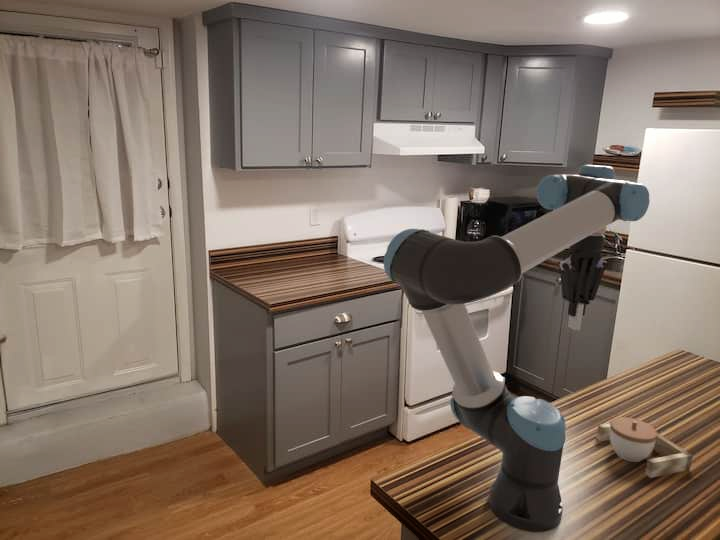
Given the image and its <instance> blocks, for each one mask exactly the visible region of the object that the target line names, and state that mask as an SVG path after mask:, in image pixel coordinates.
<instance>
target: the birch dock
mask: <svg viewBox="0 0 720 540" xmlns="http://www.w3.org/2000/svg"><path fill="white" fill-rule="evenodd" d="M610 424H611V422H609V423H603V424H602V423H601V424H598V425H597V432H596V436H595V437H596V440H598V441H599V442H605V441H610ZM653 451H655V452H656V453H657V454H660V455H661V456H660V457H654V458H649V459H647V464H646V468H645V473H644V475H646V476H647V477H648V478H650V479H651V478H655V477H661V476H667V475H671V474H676V473H681V472H684V471H690V469H691V465H692V461H693V454H692V453H690V452H688V450H685V449H684V448H682V447H681V446H679V445H677V444H675V443H674V442H673V441H671V440H669V439H668V438H666V436H665V437H664V435H661V434H660V433H658V435H657V439H656V442H655V446H654V449H653Z"/></svg>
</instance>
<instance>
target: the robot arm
mask: <svg viewBox="0 0 720 540" xmlns="http://www.w3.org/2000/svg"><path fill="white" fill-rule="evenodd" d="M578 170H579V171H578V173H577V174H560V173H556V174H549V175H546V176H544V177H543V178H541V180H540V181H539V183H538V185H537V190H536V199H537V201H538V203H539V205H541V207H543V209H546V210H550V211H549V212H548V213H545V214H544V215H542V216H540V217H537V218H536V219H534V220H532V221H530V222H527V223H526V224H524V225H522V226H520V227H519V228H516V229H514V230H512V231H510V232H508V233H507V234H504V235H502V236H499V235H490V236H487V237H486V238H484V239H482V240H477V241H464V240H458V239H456V238H455V239H454V238H450V237H447V236H444V235H440V234H437V233H433V232H430V231H429V230H428V229H418V228H407V229H405V230H403V231H400V232H399V233H398V234H396V235H395V236H394V237H393V238H392V240H391V241H390V242H389V244H388V245H387V248H386V252H385V253H384V256H383V268H384V272H385V275H386V276H387V277H388V279H390V280H391V281H392V283H394V284H396V285H400V287H401V288H402V291H403V292H404V295H405V298H406V299H407V301H408V303H409V306H410V307H411V308H412V309H414V310H416V311H419V312H421V313H422V315H423V317H424V320H425V322H426V325H428V328H429V331H430V333H431V334H432V337H433V339H434V341H435V344H436V346H437V349H438V350H439V352H440V354H441V357H442V359H443V361H444V363H445V365H446V367H447V370H448V372H449V375H450V376H451V379H452V380H453V383H454V384H453V387H452V392H451V393H450V394H451V396H452V398H450V401H449V405H450V409H451V412H452V414H453V416H454V417H455V419H456V420H457V421H458V422H459V423H460V424H461V425H462V426H464V427H465V428H467V429H469V430H471V431H472V432H473V433H475V434H476V435H478V436H479V437H480V438H482V439H483V440H484V441H486V442H488V443H489V444H491V445H492V446H494V447H495V448H496V449H498V450H499V451H500V452H501V453H502V454H501V455H502V456H501V464H500V465H501V466H500V470H499V471H498V473H497V476H496V479H495V481H494V482H493V483H492V485H491V486H490V488H489V489H490V490H489V494H488V495H489V496H488V504H489V505H488V506H489V508H490V510H491V512H492V513H493V514H494V515H495V516H496V517H497V518H498V519H500V520H501V521H502V522H504V523H506V524H507V525H510V526H511V527H514V528H516V529H519V530H523V531H528V532H546V531H550V530H552V529H554V528H557V527H558V525H560V522H561V521H562V516H563V509H564V506H563V502H562V496H561V492H560V487H559V478H560V477H559V475H560V470H561V464H562V457H563V450H564V445H565V443H566V425H567V424H566V420H565V417H564V415H563V414H562V412H561V411H560V410H559V409H558V408H557V407H556V406H555V405H553V404H552V403H550V402H548V401H546V400H545V399H542V398H538V399H537V398H535V396H529V395H521V396H515V395H514V394H511V393H510V391H508V388H507V386H506V384H505V381H504V378H503V376H502V375H501V374H500V372H498V371H497V370H495V369H492V368H491V365H490V363H489V361H488V358H487V355H486V353H485V350H484V347H483V345H482V344H481V339H480V338H479V335H478V333H477V330H476V329H475V326H474V324H473V321H472V318H471V316H470V314H469V312H468V309H467V306H466V304H468V303H469V304H470V303H475V302H477V301H482V300H484V299H486V298H490V297H492V296H495V295H497V294H500V293H501V292H504V291H506V290H508V289H509V288H511V287H512V286H514V285H516V284H517V283H519V282H520V280H521V279H522V276H523V274H524V273H525V272H527V271H529V270H531V269H532V268H534V267H536V266H538V265H539V264H541V263H543V262H544V261H547V260H549V259H550V258H552V257H554V256H556V255H558V254H559V253H561V252H563V251H564V250H566V249H568V248H569V252H568V254H567V257H566V258H565V260H563V261H560V260H559V261H558V262H557V267H558V269H559V271H560V273H559V275H560V282H561V283H560V284H561V286H560V287H561V298H562V299H563V300H565V301H566V302H568V309H567V315H568V316H569V317H568V324H567V327H568V328H569V329H571V330H573V331H581V327H582V326H581V325H582V322H583V321H582V319H583V316H585V313H586V307H587V306H588V305H590V303H591V302H592V301H594V300H595V298H596V296H597V293H598V290H599V288H600V284H601V281H602V279H603V277H604V274H605V271H606V270H607V268H608V267H609V266H610V263H609V262H608V261H606V260H603V259H602V253H601V252H602V251H603V250H604V246H605V240H606V236H605V235H604V234H605V233H606V232H607V226H609V225H611V224H612V223H614V222H616V221H620V220H621V221H623V222H627V221H628V222H637V221H639V220H641V219H642V218H643V217H644V216H645V215H646V213H647V211H648V210H649V205H650V192H649V189H648V188H647V187H646V186H645V185H644V184H643V183H639V182H633V181H630V180H618V179H615V169H614V168H613V167H612V166H609V165H600V164H582V165H581V166H580V167H579V169H578ZM551 210H552V211H551ZM590 301H591V302H590Z"/></svg>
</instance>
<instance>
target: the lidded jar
mask: <svg viewBox="0 0 720 540" xmlns="http://www.w3.org/2000/svg"><path fill="white" fill-rule="evenodd" d="M610 423H611V424H610V440H609V441H610V445H611V447H612V449H613V451H614V452H615V454H616V456H618V457H619V458H620V459H623V460H625V461H628V462H633V463H639V462H641V461H642V460H645V459H646V458H648V457H649V456H651V454H652V452H653V451H654V450H653V449H654V446H655V442H656V439H657V435H658V434H659V433H658V431H657V430H656V429H655V428H654V426H652V425H650V423H647V422H644V421H642V420H640V419H636V418H631V417H625V416H624V417H623V416H622V417H616V418H614V419H612V420H611V421H610Z"/></svg>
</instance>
